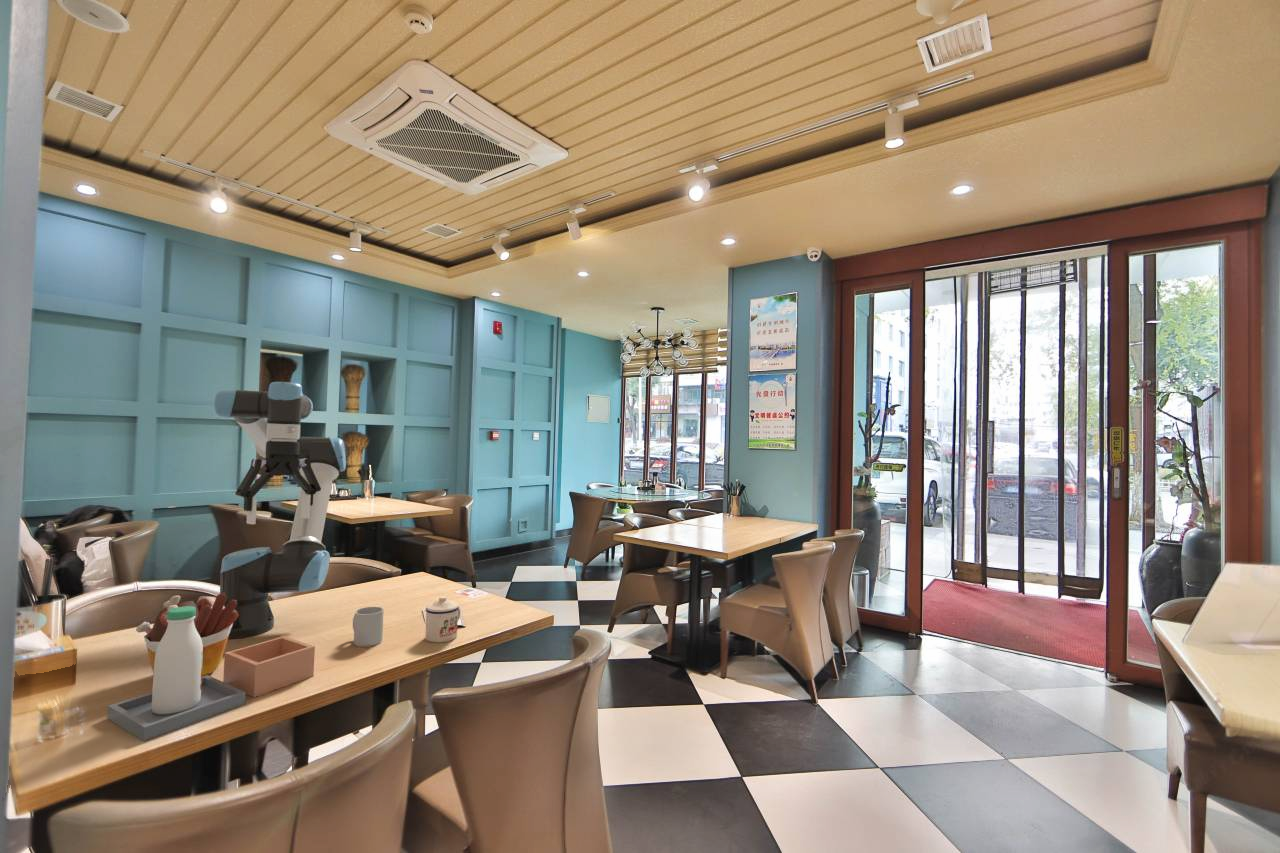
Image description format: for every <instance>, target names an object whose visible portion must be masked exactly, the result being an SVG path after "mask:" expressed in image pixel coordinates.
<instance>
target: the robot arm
mask: <svg viewBox="0 0 1280 853" xmlns="http://www.w3.org/2000/svg"><path fill="white" fill-rule="evenodd" d="M303 393H304V392H303V386H302V385H301V384H300V383H296V382H290V381H289V382H288V381H287V382H286V381H273V382H271V383H270V384H269V385H268V391H264V390H263V391H261V390H260V391H259V390H243V389H235V388H234V389H221V390H219V391H218V392H216V394H215V397H214V406H213V407H214V411H215V414H216V415H217V416H219V417H222V418H223V417H224V418H233V419H234V420H235V421H236V423H238V425H239V426H240V427H241V429H242V430H243V431H244V433H245V434H246V435H247V436H248V438H250V440H251V441H252V442H253V443H254V445H255V450H256V453H257V454H258V455H259V457H261V458H262V459H260V458H252V459H251V462H250V467H249V469H248V470H247V473H246V474H245V476H244V478H242V481H241V482H240V484H239V486H238V488H237V490H236V491H235V494H234V495H236V496H238V497H242V498H243V511H245V512H246V524H247V525H256V524H257V523H256V520H257V501H258V500H257V499H258V498H257V497H255V496H256V495H257V494H258V492H260V490H261V489H262V488H263V487H264V486H265V485H266V484H267V483H268V482H269V480H270V479H272V478H274V476H275V477H276V476H277V477H281V476H287V477H288V476H290V477H291V478H292V479H293V480H294V482H296V484H297V485H298V486H299V487H300V491H299V496H298V500H297V505H296V509H295V514H294V518H293V523H292V527H291V532H290V537H289V540H287V541H286V542H285V543H283V544H282V547H281V550H280V552H272V550H271V547H269V546H266V547H265V546H261V547H253V548H246V549H241V550H236V551H234V552H231V553H227V555H225V556H224V557H223V558H222V561H221V567H220V571H219V573H220V578H219V579H220V583H219V594H220V593H225V594H226V596H227V599H226V601H225V604H224V607H226V605H227V604H228V602H230V601H231V600H236V601H237V605H236V607H235V609H234V610H236V611H237V613H238V614H239V616H238V617H237V619H236V620H235V621H234V622H233V625H232V628H231V630H230V633H229V637H228V640H231V639H240V638H247V637H252V636H256V635H260V634H263V633H266V632H268V631H270V630H272V629H273V628H274V627H275V626H274V625H275V617H274V613H273V611H272V608H271V605H270V603H269V602H270V601H269V594H271V593H272V594H275V593H277V594H278V593H292V592H294V593H297V592H300V593H304V592H307V591H308V592H309V591H316V590H318V589H319V588H321V587H322V585H323V584H324V583H325V580H326V578H327V574H328V572H329V569H330V568H329V567H330V560H331V559H330V558H331V556H330V552H329V551H327V550H326V545H324V543H323V542H322V540H323V539H322V538H323V534H324V528H325V522H326V518H327V512H328V507H329V503H330V502H329V501H330V495H331V491H332V485H333V481H334V480H337V478H338V477H339V475H340V472H345V470H346V468H347V467H346V466H347V464H346V463H347V459H346V448H345V442H344V440H343V439H341V438H340V437H331V436H328V437H324V436H323V437H321V436H319V437H318V436H301V422H302V420H304V419H306V418H308V417H309V416H310V415H311V414H312V413H313V410H314V404H313V401H312V399H311V398H309V397H308V396H307V395H305V394H303ZM264 466H265V469H264V471H263V472H262V473H261V475H259V477H258V478H257V475H258V474H259V473H260V471H261V469H262V468H263V467H264ZM256 478H257V479H256ZM255 479H256V480H255Z"/></svg>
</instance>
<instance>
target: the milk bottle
mask: <svg viewBox="0 0 1280 853" xmlns="http://www.w3.org/2000/svg"><path fill="white" fill-rule="evenodd" d="M195 614H196V608H195V607H192V606H184V607H177V608H173V609H170V610H169V611H168V612H167V622H168V627H167V629H166V632H165V634H164V636H163V638H162V639H161V641H160V643H159V645H158V647H157V650H156V654H155V662H154V674H152V675H153V678H152V691H151V692H152V711H153V713H155V714H158V715H167V714H174V713H179V712H182V711H185V710H188V709H190V708H192V707H194V706H196V705H197V704H198V703H199V701H200V698H201V683H202V662H203V645H202V640H201V637H200V635H199V634H198V632H197V630H196V628H195V625H194V618H195Z"/></svg>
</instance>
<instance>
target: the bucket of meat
mask: <svg viewBox="0 0 1280 853" xmlns="http://www.w3.org/2000/svg"><path fill="white" fill-rule="evenodd" d="M181 598H182V597H181V596H180V595H178V594H177V595H173V596H171V597H170V599H169V600H167V601H165V602H164V603H163V608H164V609H162V610H161V611H159V612H158V615H157V616H156V618H155V621H154V623H153V625H152V628H151V627H150V626H151V624H150V622H147V621H143V622H142V623H141V624H139V625H138V626H136V629H135V631H136V632H137V633H144V632H145V633H146V634H145V635H144V636H143V637H144V642H145V645H146V649H147V652H148V656H149V661H150V665H151V670H152V675H154V662H155V654H156V650H157V647H158V645H159V643H160V641H161V639H162V638H163V636H164V634H165V632H166V629H167V627H168V622H167V612H168V611H169V610H170V609H173V608H177V607H184V606H192V607H195V608H196V614H195V618H194V625H195V628H196V630H197V632H198V634H199V635H200V637H201V640H202V645H203V662H202V677H203V676H206V675H209V676H210V675H212V674H213V673H214V672H215V670H217V668H218V667H219V665H221V662H222V659H223V655H224V654H225V649H226V646H227V643H228V640H229V639H228V637H229V633H230V630H231V628H232V625H233V622H234V621H235V620H236V619H237V617H238V616H239V614H238V613H237V611H236V610H234V609H235V607H236V605H237V601H236V600H231V601H230V602H228V604H227V605H226V607H224V604H225V601H226V599H227V596H226V594H225V593H220V592H219V594H218V595H216V596H202V595H201V596H200V597H198V598H197V601H196V603H195V602H194V601H195V600H188V601H184V602H181V603H179V602H180V601H181Z"/></svg>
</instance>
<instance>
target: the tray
mask: <svg viewBox="0 0 1280 853" xmlns="http://www.w3.org/2000/svg"><path fill="white" fill-rule="evenodd" d="M152 692H153V691H151V692H148V693H145V694H142V695H138V696H136V697H131V698H129V699H126V700H122V701H119V702H116V703H113V704H109V705H108V706H107V707H108V709H107V719H108V720H109V721H110V722H113V723H114V724H115V725H117V726H118V727H121V728H122V729H123V730H125V731H127V732H128V733H130V734H132V735H133V736H135V737H136V738H138V739H139V740H141V741H143V742H146V741H149V740H151V739H154V738H157V737H160V736H162V735H165V734H167V733H170V732H173V731H176V730H178V729H181V728H183V727H186V726H188V725H191V724H194V723H195V724H196V723H197V722H199V721H202V720H205V719H208V718H210V717H213V716H216V715H219V714H221V713H225V712H227V711H230V710H232V709H233V710H234V709H235V708H238V707H241V706H243V705H246V695H247V694H246V692H244V691H242V690H240V689H238V688H235V687H233V686H231V685H229V684H227V683H224V682H223V680H222V681H221V680H219V679H218V678H215V677H213V676H211V675H210V674H209V675H206V676H203V677H202V683H201V698H200V701H199V703H198V704H197V705H196V706H194V707H192V708H190V709H188V710H185V711H182V712H179V713H174V714H167V715H158V714H155V713H153V711H152Z"/></svg>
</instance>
